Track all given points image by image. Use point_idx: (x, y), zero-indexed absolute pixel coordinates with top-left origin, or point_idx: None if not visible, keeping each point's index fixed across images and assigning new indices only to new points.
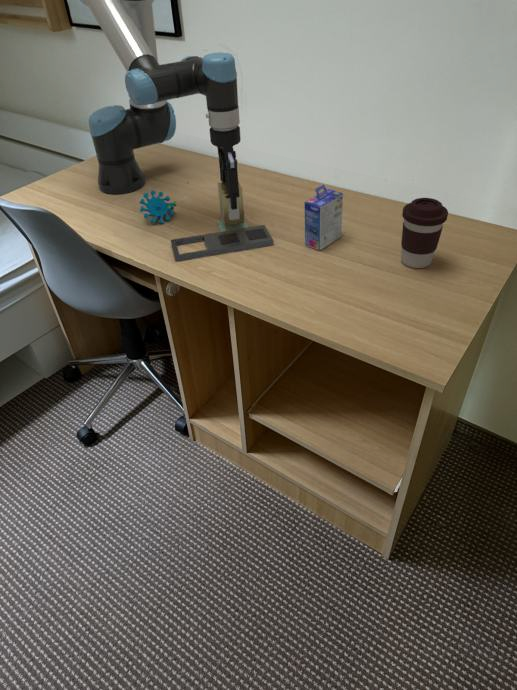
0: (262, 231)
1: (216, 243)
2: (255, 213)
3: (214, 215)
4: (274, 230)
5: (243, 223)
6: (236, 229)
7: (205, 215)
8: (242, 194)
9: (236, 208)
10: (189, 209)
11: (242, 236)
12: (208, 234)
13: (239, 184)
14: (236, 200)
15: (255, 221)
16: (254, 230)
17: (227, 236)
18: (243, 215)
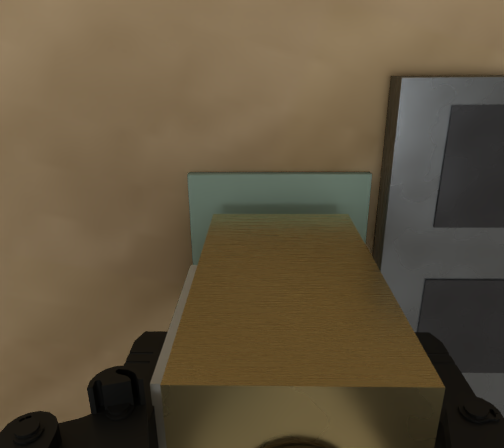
0: (497, 120)
1: (489, 389)
2: (133, 77)
3: (101, 319)
4: (430, 8)
5: (272, 194)
6: (383, 267)
7: (91, 360)
8: (412, 332)
9: (434, 341)
10: (2, 416)
11: (488, 254)
12: None
13: (316, 392)
14: (470, 389)
15: (251, 107)
16: (457, 168)
17: (448, 330)
18: (360, 238)
